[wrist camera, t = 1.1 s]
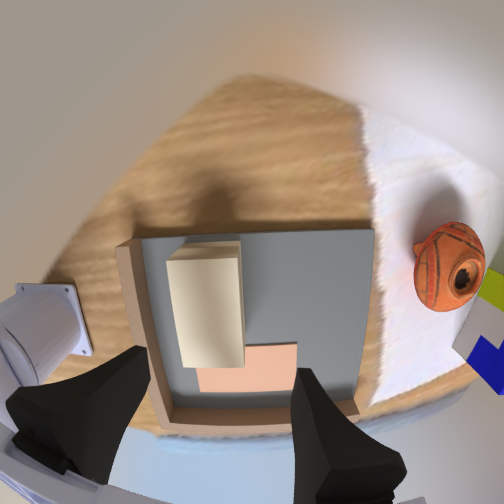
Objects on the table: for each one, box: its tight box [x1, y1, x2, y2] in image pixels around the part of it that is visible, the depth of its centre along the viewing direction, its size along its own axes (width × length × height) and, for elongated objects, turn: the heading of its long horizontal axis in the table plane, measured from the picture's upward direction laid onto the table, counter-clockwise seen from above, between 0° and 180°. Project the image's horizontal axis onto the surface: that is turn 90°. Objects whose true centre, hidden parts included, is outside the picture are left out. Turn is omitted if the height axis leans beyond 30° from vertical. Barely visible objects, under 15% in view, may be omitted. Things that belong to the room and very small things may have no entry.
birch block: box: [166, 241, 246, 368], centre depth 21 cm, size 4×8×5 cm, turn 2°
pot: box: [413, 222, 485, 312], centre depth 21 cm, size 8×8×7 cm
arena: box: [115, 228, 375, 433], centre depth 23 cm, size 20×19×3 cm
